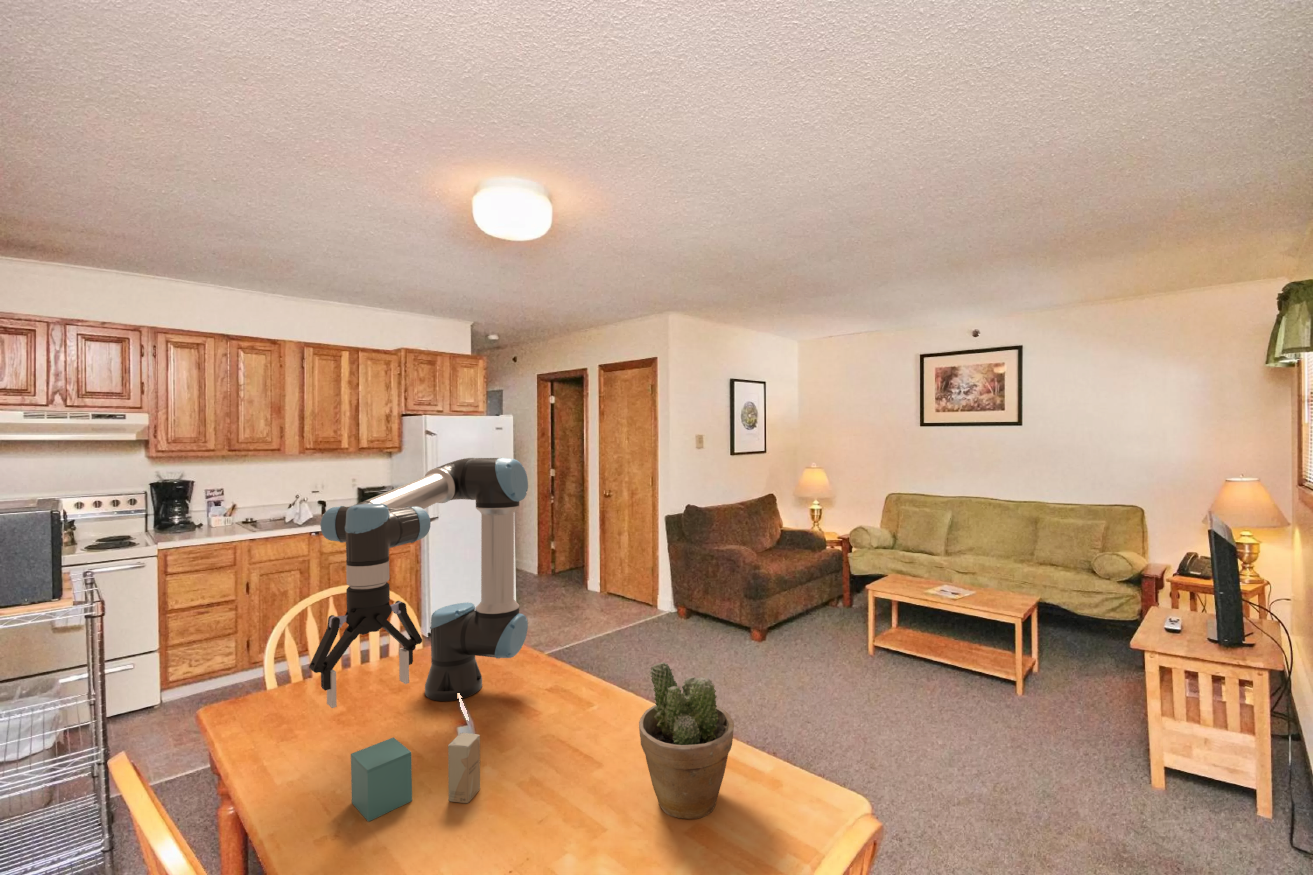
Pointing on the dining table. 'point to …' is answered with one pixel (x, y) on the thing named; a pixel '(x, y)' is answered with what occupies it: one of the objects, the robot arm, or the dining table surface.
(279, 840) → the dining table surface
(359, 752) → the teal block
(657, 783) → the potted plant
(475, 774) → the box
